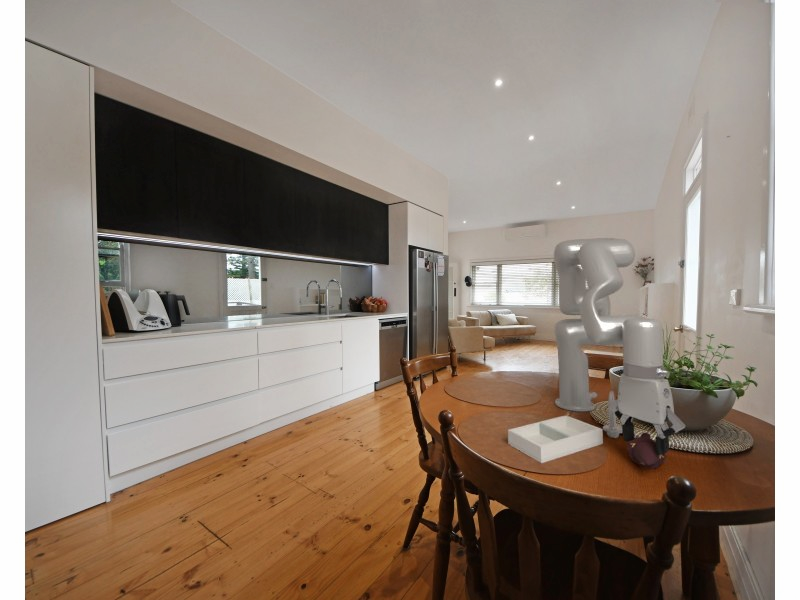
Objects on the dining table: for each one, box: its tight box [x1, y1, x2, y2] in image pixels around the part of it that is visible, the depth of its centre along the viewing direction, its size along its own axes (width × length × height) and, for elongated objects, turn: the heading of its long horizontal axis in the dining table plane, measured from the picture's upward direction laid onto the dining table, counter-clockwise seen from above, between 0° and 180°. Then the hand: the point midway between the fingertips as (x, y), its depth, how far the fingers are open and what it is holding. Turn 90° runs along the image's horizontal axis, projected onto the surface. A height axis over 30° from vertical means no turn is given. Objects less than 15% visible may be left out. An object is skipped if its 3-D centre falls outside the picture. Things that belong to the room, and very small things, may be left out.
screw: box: [602, 390, 622, 439], centre depth 92 cm, size 13×5×5 cm
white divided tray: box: [507, 415, 604, 464], centre depth 89 cm, size 22×12×4 cm, turn 113°
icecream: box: [626, 432, 667, 470], centre depth 76 cm, size 7×7×15 cm
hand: (644, 445), depth 76 cm, fingers closed on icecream, 6 cm apart
